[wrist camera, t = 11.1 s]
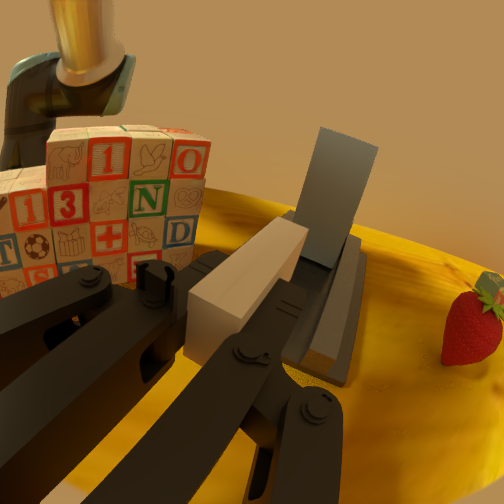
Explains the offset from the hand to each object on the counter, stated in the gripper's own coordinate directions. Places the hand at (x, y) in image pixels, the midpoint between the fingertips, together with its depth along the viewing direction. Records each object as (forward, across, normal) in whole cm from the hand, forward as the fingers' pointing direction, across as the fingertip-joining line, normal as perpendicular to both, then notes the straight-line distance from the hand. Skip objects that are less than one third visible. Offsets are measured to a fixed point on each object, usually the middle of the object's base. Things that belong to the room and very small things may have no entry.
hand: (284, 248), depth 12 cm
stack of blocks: (-1, -17, -10) cm, 19 cm away
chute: (+13, 0, -10) cm, 16 cm away
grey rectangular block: (+19, 0, -10) cm, 21 cm away
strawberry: (+9, +18, -10) cm, 22 cm away
